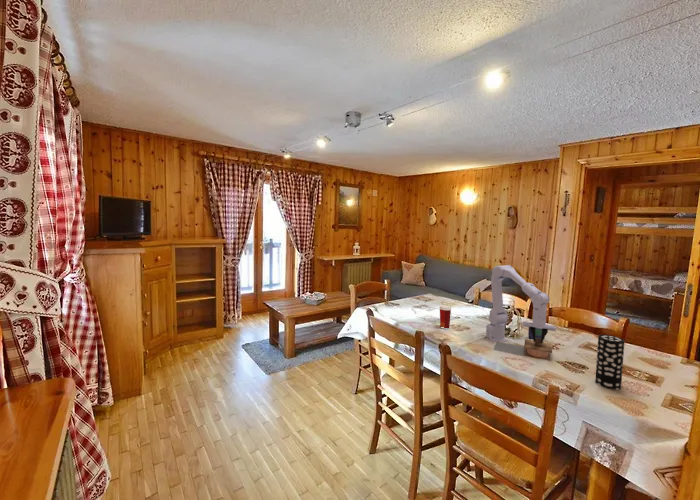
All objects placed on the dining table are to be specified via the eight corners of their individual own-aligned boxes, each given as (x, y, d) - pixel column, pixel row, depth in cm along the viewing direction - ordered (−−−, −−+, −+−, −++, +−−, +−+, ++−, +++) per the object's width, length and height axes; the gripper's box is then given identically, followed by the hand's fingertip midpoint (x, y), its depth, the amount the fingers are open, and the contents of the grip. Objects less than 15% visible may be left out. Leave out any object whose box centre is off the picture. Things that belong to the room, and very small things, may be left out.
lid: (524, 347, 155) (524, 340, 155) (525, 340, 165) (525, 333, 165) (552, 353, 149) (552, 345, 148) (551, 345, 159) (551, 338, 159)
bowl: (535, 358, 152) (536, 350, 152) (523, 351, 161) (524, 343, 161) (552, 358, 153) (552, 350, 153) (539, 351, 162) (539, 343, 162)
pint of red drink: (450, 326, 201) (451, 305, 200) (450, 330, 194) (451, 308, 193) (438, 325, 204) (439, 304, 203) (438, 328, 197) (438, 307, 196)
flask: (543, 338, 181) (543, 320, 180) (546, 340, 178) (546, 322, 177) (527, 338, 181) (528, 320, 180) (529, 339, 178) (530, 322, 177)
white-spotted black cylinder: (590, 379, 131) (593, 335, 130) (607, 379, 132) (611, 334, 130) (607, 390, 123) (611, 342, 122) (626, 389, 124) (630, 341, 122)
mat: (493, 350, 162) (493, 349, 162) (496, 342, 174) (496, 341, 174) (523, 356, 155) (523, 355, 155) (524, 347, 166) (524, 346, 166)
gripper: (522, 316, 156) (521, 341, 157) (556, 320, 149) (555, 347, 150) (523, 312, 162) (522, 337, 163) (556, 317, 155) (554, 343, 156)
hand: (538, 342), depth 157 cm, fingers closed on lid, 2 cm apart
